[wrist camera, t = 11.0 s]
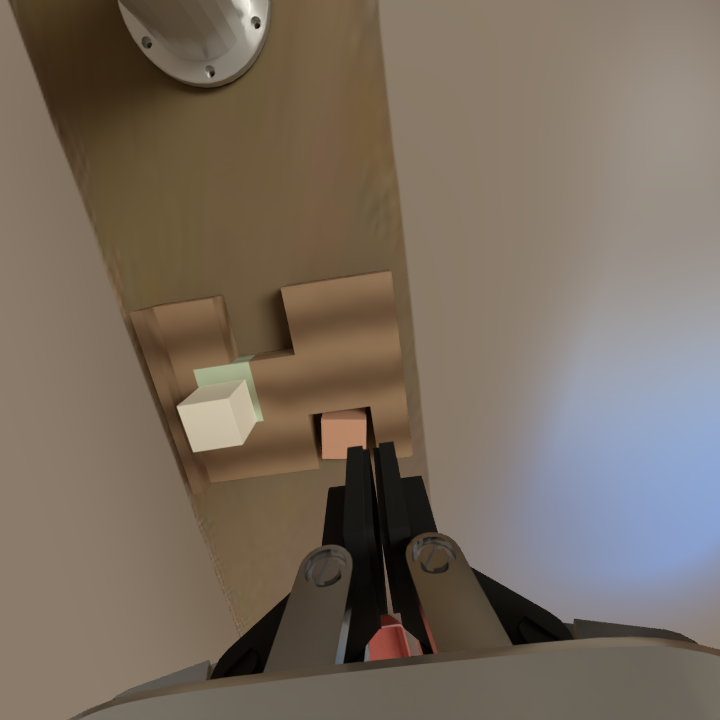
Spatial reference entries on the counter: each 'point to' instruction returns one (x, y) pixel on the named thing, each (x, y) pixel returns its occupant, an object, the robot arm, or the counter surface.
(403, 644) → the plant saucer
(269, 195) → the counter surface
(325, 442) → the salmon block
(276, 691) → the robot arm
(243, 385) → the cream cube
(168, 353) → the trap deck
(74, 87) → the counter surface
